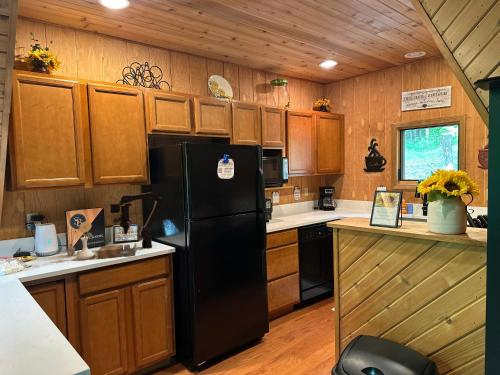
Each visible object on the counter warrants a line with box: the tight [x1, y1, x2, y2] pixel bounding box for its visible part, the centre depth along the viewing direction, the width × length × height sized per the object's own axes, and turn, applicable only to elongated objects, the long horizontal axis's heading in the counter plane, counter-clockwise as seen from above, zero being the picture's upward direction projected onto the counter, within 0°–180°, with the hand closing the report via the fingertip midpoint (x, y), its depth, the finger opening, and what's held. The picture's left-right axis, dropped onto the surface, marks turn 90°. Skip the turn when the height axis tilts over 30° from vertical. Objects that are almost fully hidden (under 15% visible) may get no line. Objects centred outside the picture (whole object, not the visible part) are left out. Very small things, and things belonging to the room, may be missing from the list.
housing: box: [97, 244, 124, 260], centre depth 234 cm, size 14×14×5 cm
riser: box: [123, 244, 131, 250], centre depth 249 cm, size 4×4×4 cm
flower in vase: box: [75, 220, 96, 260], centre depth 227 cm, size 13×11×25 cm
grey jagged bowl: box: [121, 242, 138, 257], centre depth 236 cm, size 14×14×6 cm
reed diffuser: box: [62, 226, 80, 256], centre depth 239 cm, size 10×7×20 cm
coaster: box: [121, 228, 131, 234], centre depth 248 cm, size 6×6×2 cm
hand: (126, 233), depth 248 cm, fingers closed on coaster, 6 cm apart
